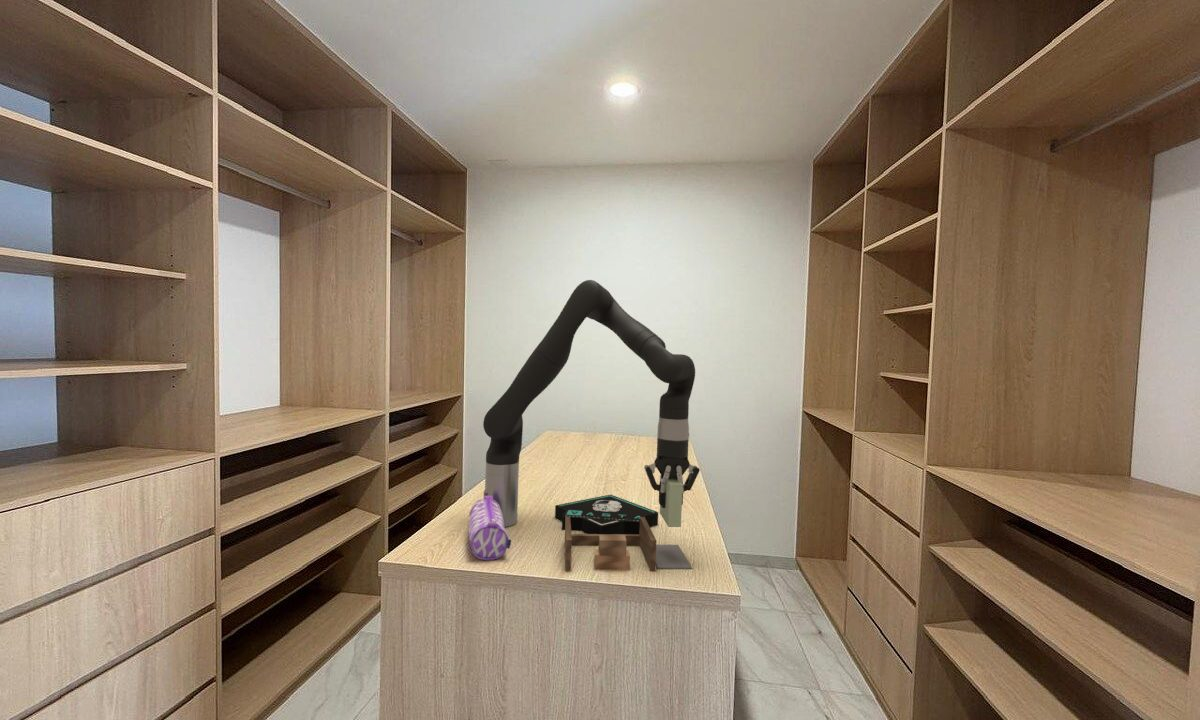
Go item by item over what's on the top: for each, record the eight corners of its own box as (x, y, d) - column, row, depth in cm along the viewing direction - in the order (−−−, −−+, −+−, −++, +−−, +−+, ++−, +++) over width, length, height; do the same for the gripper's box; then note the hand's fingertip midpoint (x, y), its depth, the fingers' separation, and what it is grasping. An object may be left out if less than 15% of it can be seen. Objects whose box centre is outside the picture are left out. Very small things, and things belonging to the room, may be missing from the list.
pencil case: (511, 561, 121) (512, 521, 121) (469, 565, 118) (471, 523, 118) (500, 528, 142) (501, 494, 142) (465, 531, 139) (466, 496, 139)
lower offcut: (594, 570, 118) (594, 555, 118) (594, 563, 121) (594, 549, 121) (629, 571, 118) (630, 555, 118) (628, 564, 122) (628, 549, 122)
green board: (659, 513, 131) (661, 473, 131) (671, 513, 131) (673, 474, 131) (668, 526, 121) (669, 484, 121) (680, 527, 122) (682, 484, 121)
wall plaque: (658, 546, 134) (657, 510, 164) (658, 530, 134) (657, 497, 164) (544, 537, 137) (563, 504, 167) (544, 522, 137) (564, 491, 167)
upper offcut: (599, 555, 117) (600, 540, 117) (598, 549, 121) (599, 534, 121) (625, 556, 118) (626, 540, 118) (624, 549, 121) (624, 535, 121)
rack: (565, 570, 116) (566, 539, 116) (564, 543, 132) (565, 516, 132) (655, 570, 118) (656, 540, 118) (643, 544, 134) (644, 517, 134)
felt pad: (657, 568, 119) (657, 567, 119) (647, 545, 133) (647, 544, 133) (692, 568, 120) (692, 567, 120) (678, 545, 134) (678, 544, 134)
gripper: (697, 434, 130) (694, 502, 131) (641, 433, 129) (639, 502, 129) (705, 439, 123) (702, 512, 123) (647, 438, 122) (644, 511, 122)
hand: (670, 506), depth 126 cm, fingers closed on green board, 3 cm apart
